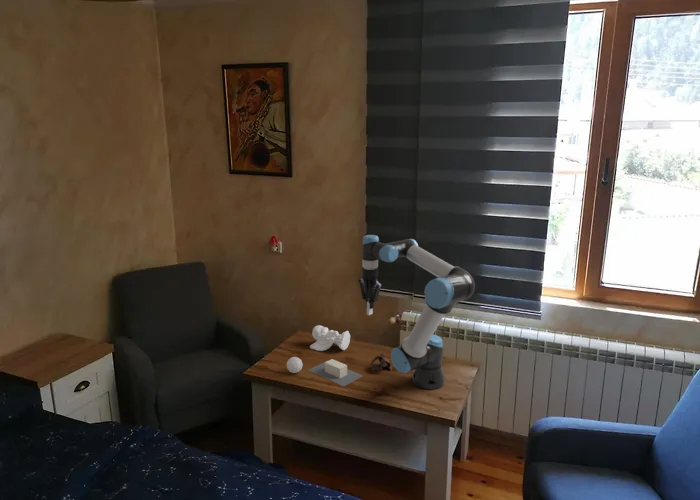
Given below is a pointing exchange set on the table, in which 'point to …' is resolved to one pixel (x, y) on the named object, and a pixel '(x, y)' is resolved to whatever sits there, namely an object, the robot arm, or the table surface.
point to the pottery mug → (381, 362)
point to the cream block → (336, 368)
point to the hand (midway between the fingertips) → (369, 314)
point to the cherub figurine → (329, 338)
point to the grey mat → (342, 381)
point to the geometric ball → (294, 364)
